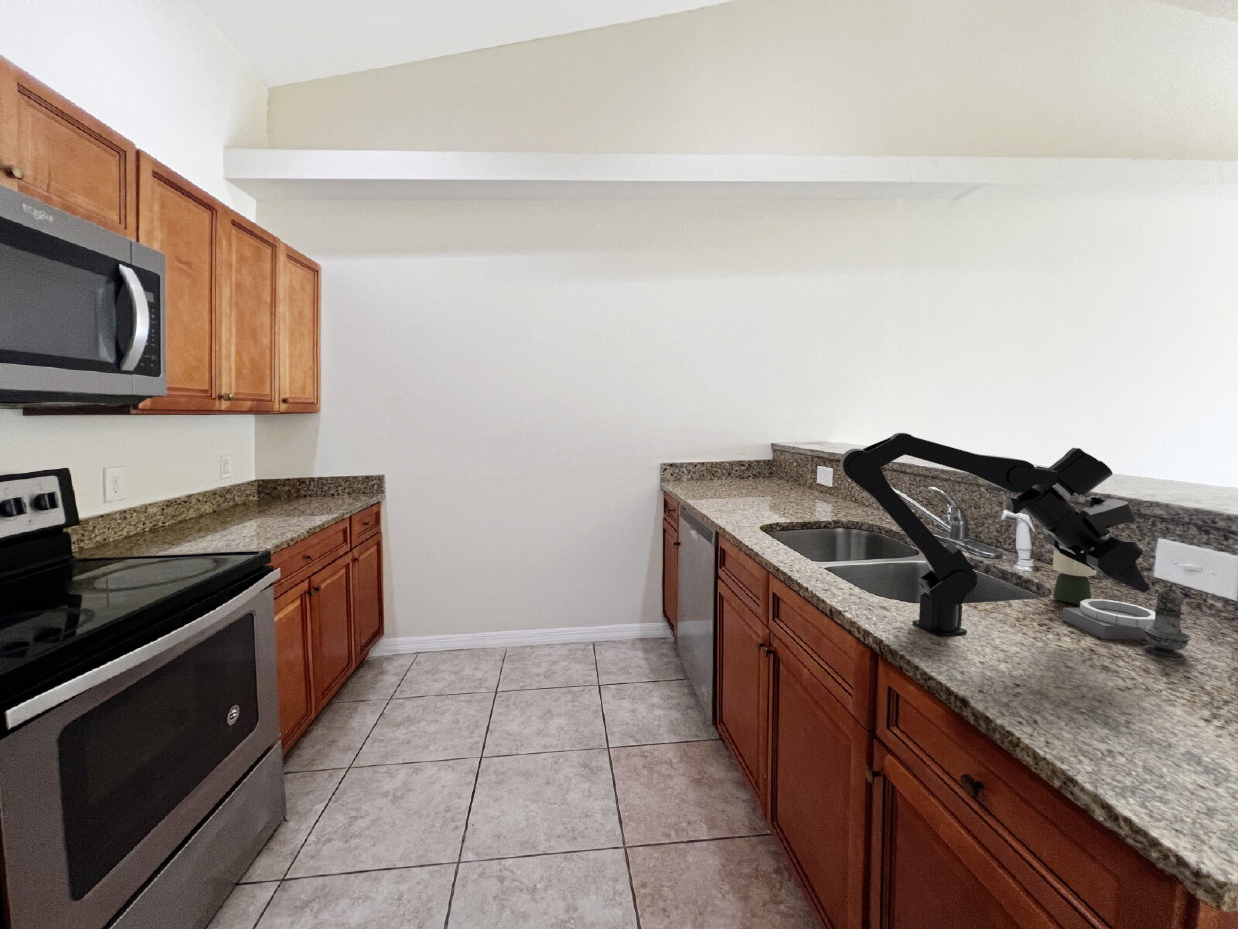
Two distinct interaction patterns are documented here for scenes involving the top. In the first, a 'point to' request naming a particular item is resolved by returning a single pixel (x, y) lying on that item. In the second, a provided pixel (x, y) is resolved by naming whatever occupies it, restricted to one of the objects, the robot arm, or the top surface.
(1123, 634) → the faceted bowl on plate
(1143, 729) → the top surface
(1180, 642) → the grey stone finial
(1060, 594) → the character mug
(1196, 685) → the top surface
